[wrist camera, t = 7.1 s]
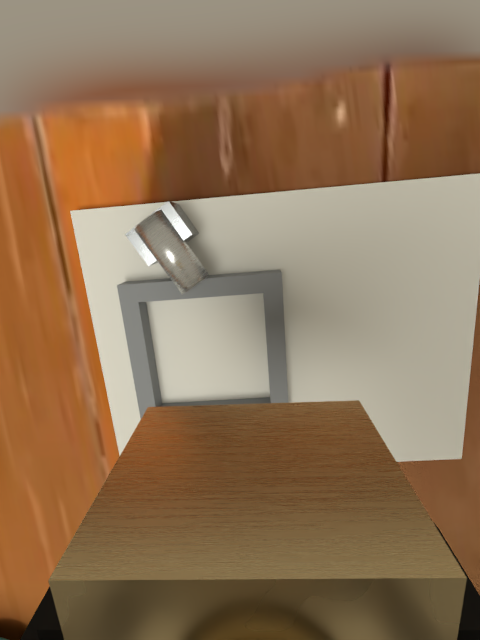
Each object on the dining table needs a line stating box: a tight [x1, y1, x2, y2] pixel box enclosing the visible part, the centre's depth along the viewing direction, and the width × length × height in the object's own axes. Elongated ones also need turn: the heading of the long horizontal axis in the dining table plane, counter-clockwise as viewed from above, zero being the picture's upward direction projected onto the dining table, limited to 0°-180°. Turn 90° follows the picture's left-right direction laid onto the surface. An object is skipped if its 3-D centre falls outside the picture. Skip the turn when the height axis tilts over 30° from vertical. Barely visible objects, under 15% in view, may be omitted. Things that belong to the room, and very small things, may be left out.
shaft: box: [125, 201, 209, 294], centre depth 21 cm, size 5×3×4 cm
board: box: [70, 173, 480, 462], centre depth 24 cm, size 26×20×2 cm
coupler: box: [48, 400, 467, 640], centre depth 8 cm, size 6×6×6 cm
